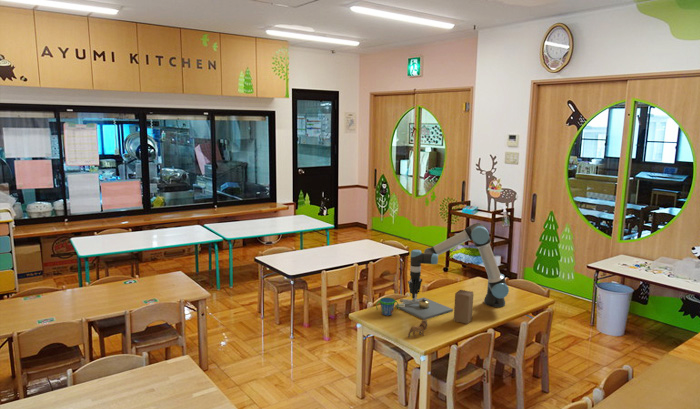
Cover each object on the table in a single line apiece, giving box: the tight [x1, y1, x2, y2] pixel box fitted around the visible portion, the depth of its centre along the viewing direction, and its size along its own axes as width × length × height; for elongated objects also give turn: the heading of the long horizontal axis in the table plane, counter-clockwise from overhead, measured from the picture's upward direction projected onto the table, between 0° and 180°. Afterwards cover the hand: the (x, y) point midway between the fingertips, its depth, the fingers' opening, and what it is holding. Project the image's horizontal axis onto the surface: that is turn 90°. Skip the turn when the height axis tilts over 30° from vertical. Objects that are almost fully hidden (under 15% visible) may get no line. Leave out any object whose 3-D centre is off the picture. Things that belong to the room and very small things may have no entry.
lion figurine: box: [408, 319, 428, 338], centre depth 309 cm, size 15×5×9 cm, turn 122°
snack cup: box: [375, 297, 399, 316], centre depth 343 cm, size 16×10×10 cm
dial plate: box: [394, 296, 454, 321], centre depth 354 cm, size 30×30×2 cm
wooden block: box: [453, 289, 474, 325], centre depth 333 cm, size 10×10×20 cm
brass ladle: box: [398, 298, 429, 308], centre depth 355 cm, size 22×7×6 cm, turn 74°
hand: (414, 301), depth 361 cm, fingers closed
